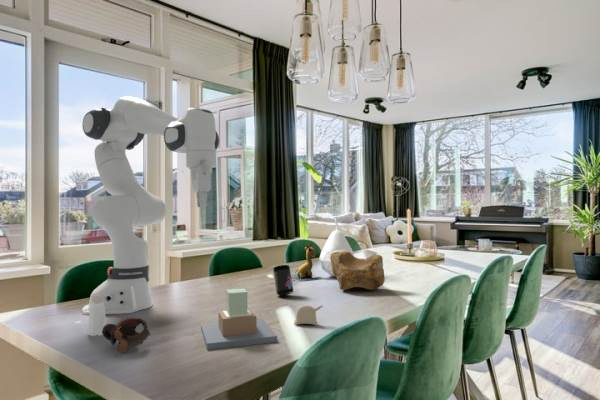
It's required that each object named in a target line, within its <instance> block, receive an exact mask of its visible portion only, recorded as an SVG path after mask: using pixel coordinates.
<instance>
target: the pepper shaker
mask: <svg viewBox="0 0 600 400" xmlns="http://www.w3.org/2000/svg"><path fill="white" fill-rule="evenodd" d="M90 296H91V295H90ZM102 296H103V295H102V294H95V295H92V296H91V297H92V304H90V311H89V315H88V323H87V332H86V333H87V334H86V335H87V336H89V335H90V337H95V336H96V335H98V336H103V335H102V334H103V333H102V330H103V328H104V326H105V325H107V318H106V314H105V307H104V303H102Z"/></svg>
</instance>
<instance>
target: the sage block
mask: <svg viewBox="0 0 600 400" xmlns="http://www.w3.org/2000/svg"><path fill="white" fill-rule="evenodd" d="M225 294H226V295H225V297H226V300H225V301H226V304H225V306H226V311H227V313H228V315H229V316H232V315H243V314H248V313H247V308H248V291H247V290H246V289H245V287H244V288H233V289H225Z"/></svg>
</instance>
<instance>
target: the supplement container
mask: <svg viewBox="0 0 600 400" xmlns="http://www.w3.org/2000/svg"><path fill="white" fill-rule="evenodd" d="M272 273H273V280H274V285H275V292H276V295H277V296H280V297H281V296H288V295H291V294H293V293H294V287H293V285H294V284H293V282H292V280H293V279H292V278H291V274H292V273H291V267H290V265H289V264H281V265H278V266H274V267H272Z"/></svg>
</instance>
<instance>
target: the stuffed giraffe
mask: <svg viewBox="0 0 600 400" xmlns="http://www.w3.org/2000/svg"><path fill="white" fill-rule="evenodd" d="M304 250H305V251H306V253H305V254H306V256H305V257H306V262H305V263H303V264H301V265H300V266H299V267H298V268H296V270H295V271H294V273H291V278H292V283H294V282H296V283H298V282H304V281H305V282H306V281H313V280H314V281H315V280H316V281H317V280H319V278H320V279H321V278H322V276H317V275H316V274H313V271H312V270H313V269H312V268H313V261H312V258H315V257H316V255H317V253H316V250H315V248H314V247H311V246H310V245H307V244H306V245H305V247H304Z"/></svg>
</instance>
